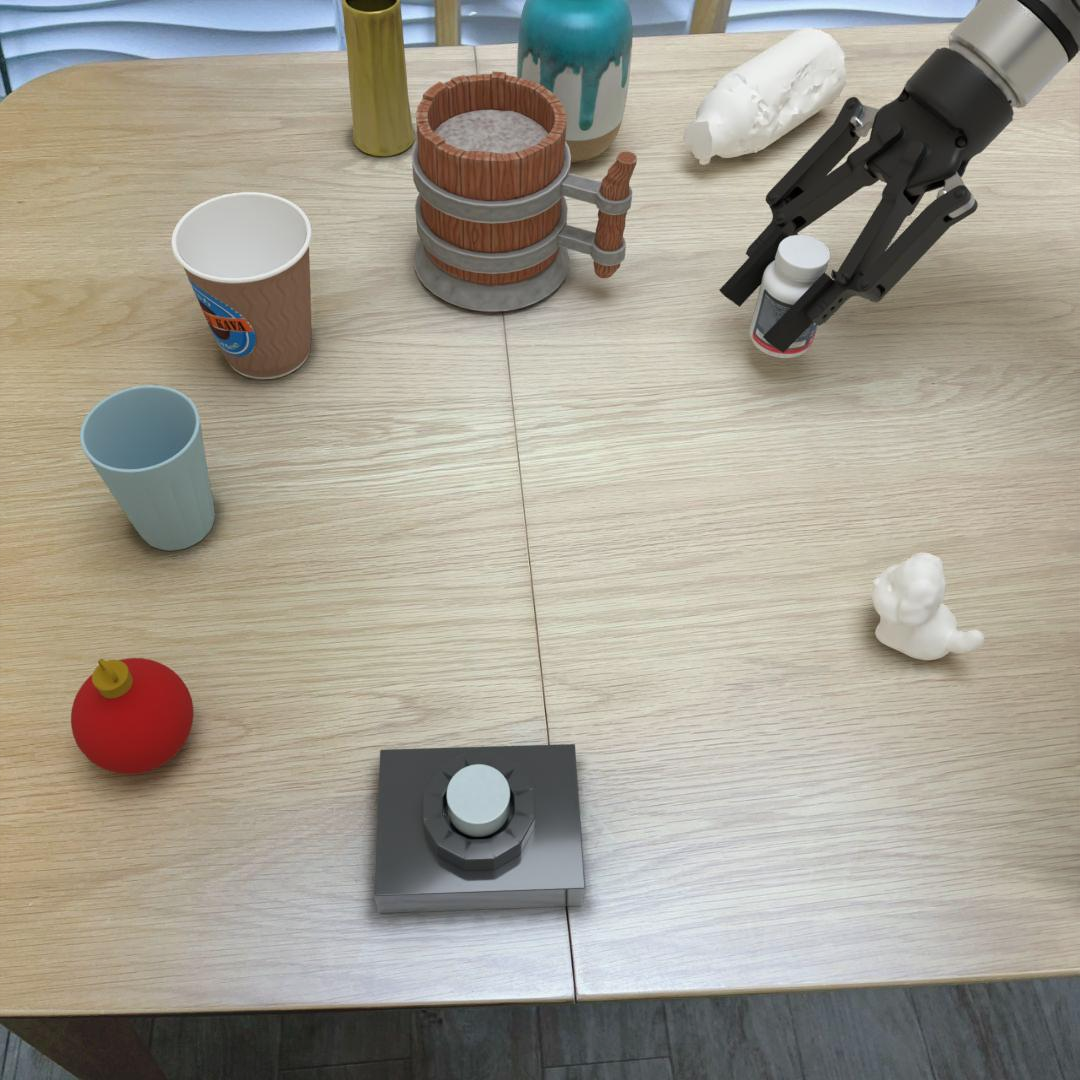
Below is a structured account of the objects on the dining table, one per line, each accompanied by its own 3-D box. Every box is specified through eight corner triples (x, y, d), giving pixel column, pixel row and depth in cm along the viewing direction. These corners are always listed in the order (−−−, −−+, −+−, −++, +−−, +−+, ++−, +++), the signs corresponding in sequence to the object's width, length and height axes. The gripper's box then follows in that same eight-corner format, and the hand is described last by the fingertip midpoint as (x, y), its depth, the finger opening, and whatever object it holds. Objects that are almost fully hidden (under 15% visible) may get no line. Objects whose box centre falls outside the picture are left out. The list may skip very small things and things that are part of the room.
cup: (251, 502, 82) (222, 407, 73) (190, 578, 78) (152, 487, 69) (167, 467, 84) (129, 370, 75) (103, 540, 79) (55, 447, 71)
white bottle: (660, 160, 109) (669, 86, 102) (775, 86, 117) (791, 14, 110) (722, 196, 105) (736, 122, 99) (836, 118, 114) (856, 45, 107)
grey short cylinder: (508, 777, 65) (509, 762, 63) (510, 836, 63) (510, 822, 61) (447, 779, 65) (446, 764, 63) (447, 838, 62) (446, 824, 61)
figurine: (861, 589, 79) (894, 522, 73) (971, 624, 78) (1015, 559, 71) (847, 649, 76) (879, 585, 70) (961, 686, 75) (1005, 625, 68)
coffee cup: (180, 348, 91) (143, 231, 81) (280, 291, 95) (256, 174, 86) (255, 415, 87) (225, 300, 77) (356, 352, 91) (339, 236, 82)
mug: (452, 198, 104) (446, 48, 92) (644, 251, 100) (665, 103, 88) (387, 289, 96) (371, 139, 84) (592, 351, 92) (607, 203, 80)
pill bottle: (816, 360, 89) (844, 275, 82) (752, 359, 89) (775, 273, 82) (806, 316, 92) (832, 230, 85) (745, 315, 92) (766, 228, 85)
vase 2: (518, 114, 112) (522, -81, 97) (621, 119, 112) (641, -75, 97) (512, 177, 106) (515, -21, 91) (621, 183, 106) (643, -14, 91)
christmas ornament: (226, 739, 71) (191, 662, 62) (133, 815, 67) (84, 744, 59) (161, 672, 73) (119, 590, 65) (68, 741, 70) (13, 664, 62)
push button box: (572, 765, 70) (576, 730, 66) (581, 905, 65) (587, 877, 61) (384, 770, 70) (377, 736, 66) (378, 913, 64) (370, 885, 60)
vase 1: (373, 115, 111) (359, -26, 100) (426, 132, 110) (417, -9, 98) (341, 146, 108) (322, 4, 97) (395, 164, 107) (382, 22, 95)
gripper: (1084, 169, 77) (840, 408, 85) (914, 43, 86) (708, 270, 94) (1060, 120, 71) (800, 382, 79) (880, -9, 80) (664, 237, 88)
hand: (751, 321), depth 87 cm, fingers closed on pill bottle, 5 cm apart
